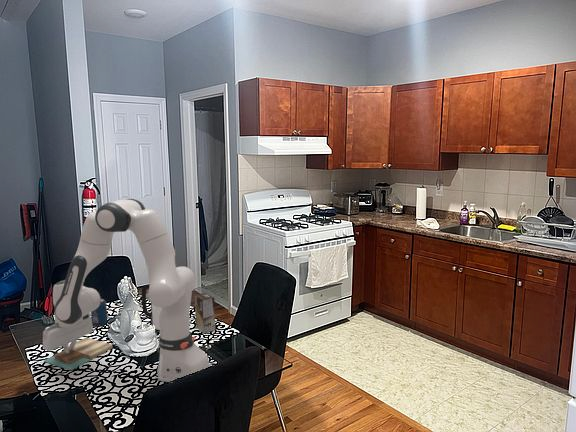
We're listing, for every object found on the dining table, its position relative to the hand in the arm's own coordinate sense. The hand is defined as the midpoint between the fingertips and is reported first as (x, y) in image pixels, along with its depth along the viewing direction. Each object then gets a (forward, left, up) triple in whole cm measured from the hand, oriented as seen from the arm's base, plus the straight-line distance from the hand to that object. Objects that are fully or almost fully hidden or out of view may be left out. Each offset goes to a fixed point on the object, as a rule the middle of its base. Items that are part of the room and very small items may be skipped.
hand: (70, 351), depth 171 cm
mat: (0, +2, -3) cm, 4 cm away
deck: (0, -9, -3) cm, 9 cm away
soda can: (+19, -31, -4) cm, 36 cm away
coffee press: (-13, -40, -4) cm, 42 cm away
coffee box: (-31, -49, -4) cm, 58 cm away
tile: (0, +1, -3) cm, 3 cm away
